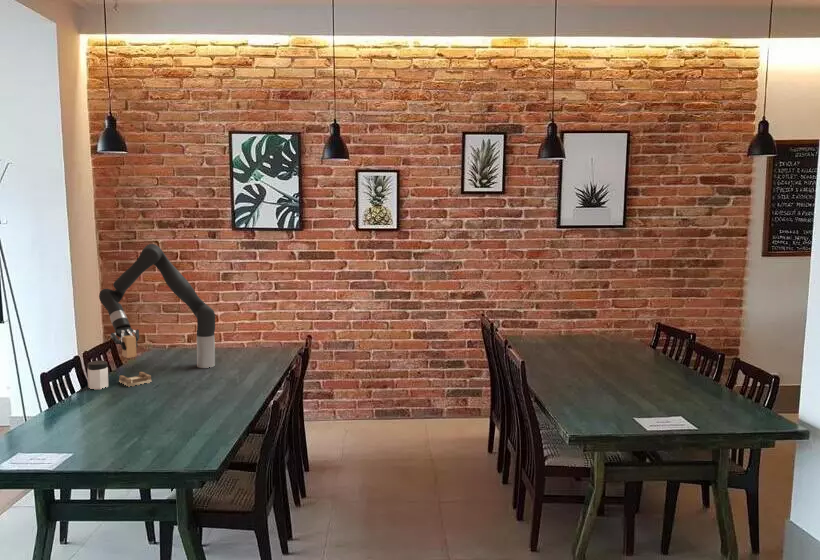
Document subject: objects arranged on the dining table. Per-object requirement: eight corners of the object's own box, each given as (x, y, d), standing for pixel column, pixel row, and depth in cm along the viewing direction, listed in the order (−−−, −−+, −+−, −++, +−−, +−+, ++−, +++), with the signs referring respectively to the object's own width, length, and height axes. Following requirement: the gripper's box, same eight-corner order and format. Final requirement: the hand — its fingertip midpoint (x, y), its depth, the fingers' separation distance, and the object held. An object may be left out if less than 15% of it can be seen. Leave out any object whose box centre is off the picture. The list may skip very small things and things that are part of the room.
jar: (110, 387, 277) (109, 363, 275) (90, 390, 272) (89, 365, 270) (105, 383, 284) (104, 359, 282) (86, 386, 278) (85, 361, 277)
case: (122, 355, 292) (121, 336, 291) (131, 354, 295) (130, 334, 294) (127, 357, 288) (126, 338, 287) (136, 356, 291) (135, 336, 290)
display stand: (119, 382, 286) (118, 375, 286) (141, 378, 294) (141, 371, 294) (128, 387, 279) (128, 380, 278) (151, 382, 287) (151, 375, 286)
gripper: (106, 318, 289) (117, 346, 283) (136, 315, 300) (147, 342, 293) (103, 327, 294) (113, 355, 287) (132, 324, 304) (143, 350, 297)
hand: (130, 348), depth 290 cm, fingers closed on case, 4 cm apart
